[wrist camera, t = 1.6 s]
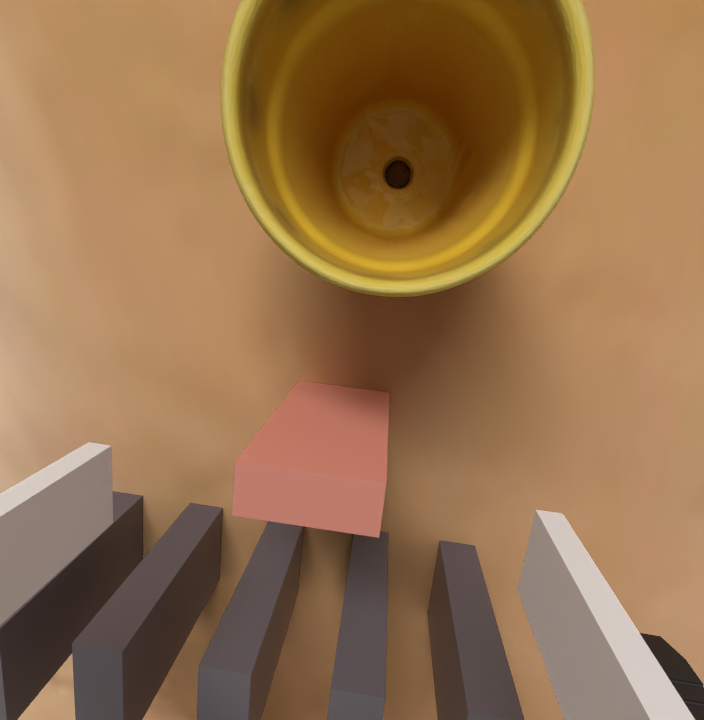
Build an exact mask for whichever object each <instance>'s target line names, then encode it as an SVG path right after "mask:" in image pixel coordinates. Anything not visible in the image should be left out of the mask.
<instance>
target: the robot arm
mask: <svg viewBox="0 0 704 720" xmlns="http://www.w3.org/2000/svg"><path fill="white" fill-rule="evenodd" d="M112 523H113V495H112V453H111V446H110V445H103V444H96V443H90V442H88V443H87V444H85V445H83V446H81V447H80V448H78V449H76V450H74V451H73V452H71V453H69V454H68V455H66V456H64V457H62V458H61V459H59V460H57V461H56V462H54V463H52V464H50V465H49V466H47V467H45V468H44V469H42V470H40V471H38V472H37V473H35V474H33V475H31V476H30V477H28V478H26V479H25V480H23V481H21V482H19V483H18V484H16V485H14V486H13V487H11V488H9V489H7V490H6V491H4V492H2V493H0V625H1V624H2V623H3V622H5V621H6V620H7V619H8V618H9V617H10V616H11V615H12V614H13V613H14V612H16V611H17V610H18V609H19V608H20V607H21V606H22V605H23V604H24V603H25V602H27V601H28V600H29V599H30V598H31V597H32V596H33V595H34V594H35V593H36V592H38V591H39V590H40V589H41V588H42V587H43V586H44V585H45V584H46V583H47V582H49V581H50V580H51V579H52V578H53V577H54V576H55V575H56V574H57V573H58V572H59V571H61V570H62V569H63V568H64V567H65V566H66V565H67V564H68V563H69V562H70V561H72V560H73V559H74V558H75V557H76V556H77V555H78V554H79V553H80V552H81V551H83V550H84V549H85V548H86V547H87V546H88V545H89V544H90V543H91V542H92V541H94V540H95V539H96V538H97V537H98V536H99V535H100V534H101V533H102V532H103V531H105V530H106V529H107V528H108V527H109V526H110V525H111V524H112ZM518 592H519V595H520V597H521V600H522V603H523V606H524V609H525V611H526V614H527V617H528V620H529V623H530V625H531V628H532V631H533V634H534V637H535V639H536V642H537V645H538V648H539V651H540V653H541V656H542V659H543V662H544V665H545V667H546V670H547V673H548V676H549V679H550V681H551V684H552V687H553V690H554V693H555V695H556V698H557V701H558V704H559V707H560V709H561V712H562V715H563V718H564V720H704V688H703V683H702V682H701V680H700V679H699V678H698V676H697V675H696V673H695V672H694V671H693V669H692V668H691V666H690V665H689V664H688V662H687V661H686V660H685V658H683V657H682V656H681V655H680V654H679V653H678V652H677V651H676V650H675V649H674V648H672V647H671V646H670V645H669V644H668V643H667V642H666V641H665V640H664V639H663V638H661V637H660V636H654V635H649V634H643V633H639V631H638V630H637V628H636V627H635V625H634V624H633V622H632V621H631V619H630V617H629V616H628V614H627V613H626V611H625V610H624V608H623V607H622V605H621V603H620V602H619V600H618V599H617V597H616V596H615V594H614V593H613V591H612V589H611V588H610V586H609V585H608V583H607V582H606V580H605V579H604V577H603V575H602V574H601V572H600V571H599V569H598V568H597V566H596V565H595V563H594V561H593V560H592V558H591V557H590V555H589V554H588V552H587V551H586V549H585V547H584V546H583V544H582V543H581V541H580V540H579V538H578V537H577V535H576V534H575V532H574V530H573V529H572V527H571V526H570V524H569V523H568V521H567V520H566V518H565V516H564V515H563V514H562V513H555V512H548V511H542V510H536V511H535V515H534V520H533V524H532V529H531V533H530V537H529V542H528V546H527V551H526V555H525V559H524V564H523V568H522V573H521V577H520V581H519V586H518Z"/></svg>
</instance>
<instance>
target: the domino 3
mask: <svg viewBox="0 0 704 720" xmlns="http://www.w3.org/2000/svg"><path fill="white" fill-rule="evenodd" d="M303 530H304V526H298V525H291V524H285V523H278V522H271V521H268V523H267V525H266V528H265V530H264V532H263V534H262V536H261V538H260V540H259V542H258V544H257V546H256V548H255V550H254V552H253V554H252V557H251V559H250V561H249V563H248V565H247V567H246V569H245V571H244V573H243V575H242V577H241V579H240V581H239V583H238V586H237V588H236V590H235V592H234V594H233V596H232V598H231V600H230V602H229V604H228V606H227V608H226V610H225V613H224V615H223V617H222V619H221V621H220V623H219V625H218V627H217V629H216V631H215V633H214V635H213V637H212V639H211V642H210V644H209V646H208V648H207V650H206V652H205V654H204V656H203V658H202V660H201V662H200V664H199V675H198V707H197V720H261V717H262V714H263V710H264V707H265V703H266V700H267V697H268V693H269V690H270V686H271V683H272V679H273V676H274V672H275V669H276V666H277V662H278V659H279V655H280V652H281V648H282V645H283V641H284V638H285V635H286V631H287V628H288V624H289V621H290V617H291V614H292V610H293V607H294V603H295V600H296V597H297V593H298V585H299V574H300V563H301V552H302V541H303Z"/></svg>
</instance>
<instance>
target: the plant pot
mask: <svg viewBox="0 0 704 720" xmlns="http://www.w3.org/2000/svg"><path fill="white" fill-rule="evenodd" d="M594 85H595V67H594V53H593V42H592V37H591V32H590V28H589V23H588V19H587V15H586V11H585V8H584V5H583V2H582V0H241V2H240V5H239V7H238V10H237V12H236V15H235V18H234V20H233V23H232V27H231V30H230V33H229V37H228V40H227V44H226V49H225V54H224V60H223V67H222V75H221V90H220V91H221V117H222V126H223V134H224V139H225V145H226V149H227V153H228V157H229V161H230V164H231V167H232V170H233V174H234V177H235V179H236V181H237V184H238V186H239V188H240V191H241V193H242V195H243V197H244V199H245V201H246V203H247V205H248V207H249V209H250V210H251V212H252V214H253V215H254V217H255V218H256V220H257V221H258V223H259V224H260V225H261V227H262V228H263V230H264V231H265V232H266V233H267V234H268V236H269V237H270V238H271V239H272V240H273V242H274V243H275V244H276V245H277V246H278V247H279V248H280V249H281V250H282V251H284V252H285V253H286V254H287V255H288V256H289V257H290V258H291V259H293V260H294V261H295V262H296V263H297V264H299V265H300V266H301V267H303V268H304V269H306V270H307V271H309V272H310V273H312V274H314V275H316V276H317V277H319V278H321V279H323V280H325V281H327V282H329V283H331V284H334V285H336V286H339V287H342V288H344V289H348V290H351V291H354V292H359V293H363V294H368V295H376V296H385V297H412V296H420V295H427V294H432V293H436V292H440V291H443V290H447V289H450V288H453V287H456V286H459V285H462V284H464V283H466V282H469V281H471V280H473V279H475V278H477V277H479V276H481V275H483V274H485V273H486V272H488V271H490V270H492V269H493V268H495V267H496V266H498V265H499V264H501V263H502V262H503V261H505V260H506V259H507V258H509V257H510V256H511V255H512V254H514V253H515V252H516V251H517V250H518V249H519V248H520V247H522V246H523V245H524V244H525V243H526V242H527V241H528V240H529V239H530V238H531V237H532V236H533V235H534V234H535V232H536V231H537V230H538V229H539V228H540V227H541V225H542V224H543V223H544V221H545V220H546V219H547V217H548V216H549V215H550V214H551V212H552V211H553V210H554V208H555V207H556V205H557V203H558V202H559V200H560V199H561V197H562V195H563V194H564V192H565V190H566V188H567V186H568V184H569V182H570V180H571V178H572V176H573V174H574V172H575V169H576V167H577V164H578V162H579V160H580V157H581V154H582V151H583V148H584V145H585V141H586V138H587V134H588V131H589V126H590V121H591V116H592V108H593V100H594ZM397 160H400V161H404V162H405V163H407V164H408V166H409V168H410V171H411V178H410V181H409V183H408V184H407V185H406V186H405V187H403V188H400V189H396V188H393V187H391V186H389V185H388V183H387V181H386V179H385V172H386V169H387V167H388V166H389V164H391V163H392V162H394V161H397Z"/></svg>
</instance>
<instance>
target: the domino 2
mask: <svg viewBox="0 0 704 720" xmlns="http://www.w3.org/2000/svg"><path fill="white" fill-rule="evenodd" d="M222 509H223V508H220V507H213V506H207V505H200V504H193V503H190V504H189V505H188V506H187V508H186V509H185V510H184V511H183V512H182V514H181V515H180V516H179V517H178V518H177V520H176V521H175V522H174V523H173V524H172V525H171V527H170V528H169V529H168V530H167V531H166V533H165V534H164V535H163V536H162V537H161V538H160V540H159V541H158V542H157V543H156V544H155V546H154V547H153V548H152V549H151V550H150V552H149V553H148V554H147V555H146V556H145V557H144V559H143V560H142V561H141V562H140V563H139V565H138V566H137V567H136V568H135V569H134V570H133V572H132V573H131V574H130V575H129V576H128V578H127V579H126V580H125V581H124V582H123V584H122V585H121V586H120V587H119V588H118V589H117V591H116V592H115V593H114V594H113V595H112V597H111V598H110V599H109V600H108V601H107V602H106V604H105V605H104V606H103V607H102V608H101V610H100V611H99V612H98V613H97V614H96V616H95V617H94V618H93V619H92V620H91V621H90V623H89V624H88V625H87V626H86V627H85V629H84V630H83V631H82V632H81V633H80V634H79V636H78V637H77V638H76V639H75V640H74V642H73V643H72V654H73V674H74V695H75V716H76V720H142V719H143V717H144V716H145V714H146V712H147V710H148V708H149V707H150V705H151V703H152V701H153V699H154V697H155V696H156V694H157V692H158V690H159V688H160V686H161V685H162V683H163V681H164V679H165V677H166V676H167V674H168V672H169V670H170V668H171V666H172V665H173V663H174V661H175V659H176V657H177V656H178V654H179V652H180V650H181V648H182V646H183V645H184V643H185V641H186V639H187V637H188V636H189V634H190V632H191V630H192V628H193V626H194V625H195V623H196V621H197V619H198V617H199V616H200V614H201V612H202V610H203V608H204V606H205V605H206V603H207V601H208V599H209V597H210V595H211V594H212V592H213V590H214V588H215V586H216V585H217V583H218V581H219V579H220V556H221V533H222Z"/></svg>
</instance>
